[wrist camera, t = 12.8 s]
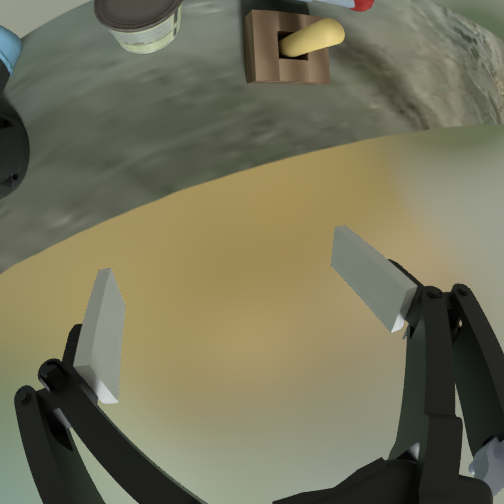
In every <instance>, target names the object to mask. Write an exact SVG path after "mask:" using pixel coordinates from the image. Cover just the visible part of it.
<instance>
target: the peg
mask: <svg viewBox="0 0 504 504" xmlns="http://www.w3.org/2000/svg"><path fill="white" fill-rule="evenodd" d="M344 36H345V33H344V29H343V27H342V26H341V25H340V24H339V23H338V22H337V21H336V20H334V19H331V18H325V19H322V20H320V21H318V22H316V23H313V24H311V25H309V26H307V27H305V28H303V29H301V30H299V31H297V32H295V33H293V34H291V35H289V36H287V37H285V38H283V39H281V40H280V41H278V53H279V59H290V58H293V57H296V56H299V55H302V54H305V53H308V52H311V51H315V50H318V49H321V48H325V47H329V46H332V45H336V44H339V43H341V42H342V41H343V40H344Z"/></svg>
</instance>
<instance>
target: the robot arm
mask: <svg viewBox="0 0 504 504" xmlns="http://www.w3.org/2000/svg"><path fill="white" fill-rule="evenodd" d="M21 51H22V41H21V39H20V38H19V37H18V36H17V35H16V34H14V33H13V32H11V31H10V30H8V29H6V28H5V27H3V26H1V25H0V98H1V96H2V93H3V91H4V88H5V86H6V84H7V81H8V79H9V77H11V76H12V74H13V69H14V66H15V64H16V62H17V60H18V58H19V56H20V54H21ZM28 163H29V141H28V137H27V134H26V131H25V129H24V127H23V125H22V124H21V122H20V121H19V120H18V119H17V118H15V117H14V116H12V115H9V114H0V199H2V198H4V197H6V196H7V195H9V194H10V193H12V192H13V191H14V190H15V189H16V188H17V187H18V186H19V185H20V184H21V182H22V180H23V178H24V176H25V174H26V171H27V167H28ZM331 266H332V267H333V268H334V269H335V270H336V271H337V272H338V273H339V274H340V276H341V277H342V278H343V279H344V280H345V281H346V282H347V283H348V284H349V286H350V287H352V289H353V290H354V291H355V292H356V293H357V294H358V296H359V297H360V298H361V299H362V300H363V301H364V302H365V303H366V305H367V306H368V307H369V308H370V309H371V310H372V312H373V313H374V314H375V315H376V316H377V317H378V318H379V320H380V321H381V322H382V323H383V324H384V325H385V326H386V328H387V329H388V330H389V331H390V332H391V333H392V332H394V331H396V330H398V329H401V328H402V326H403V324H404V321H405V320H406V321H407V322H408V323H409V325H408V327H407V329H406V332H405V334H404V336H403V339H405V337H406V336H407V349H406V367H405V379H404V390H403V398H402V407H401V414H400V420H399V426H398V432H397V437H396V441H395V444H394V446H393V448H392V450H391V452H390V454H389V457H388V460H384V459H383V458H382V457H381V458H379V459H377V460H375V461H374V462H372V463H370V464H368V465H366V466H364V467H362V468H360V469H358V470H357V471H356V472H354V473H353V474H352V475H350V476H349V477H348V478H347V479H345V480H344V481H342V482H341V483H340V484H338V485H337V486H336V487H334V488H330V489H324V490H317V491H310V492H303V493H299V494H296V495H293V496H290V497H287V498H283V499H280V500H277V501H273V502H272V504H493V497H494V496H495V495H496V494H497V493H498V492H499V491H500V490H501V489H502V488H503V487H504V354H503V351H502V349H501V347H500V344H499V342H498V340H497V338H496V336H495V334H494V332H493V330H492V328H491V326H490V324H489V322H488V320H487V318H486V316H485V314H484V312H483V310H482V309H481V307H480V305H479V303H478V301H477V300H476V298H475V296H474V294H473V293H472V291H471V290H470V288H468V287H467V286H466V285H464V284H459V283H458V284H455V285H453V288H452V290H451V292H444V293H443V292H442V291H441V290H440V289H438V288H436V287H434V286H423V285H422V284H421V283H420V282H419V281H418V280H417V279H416V278H415V277H413V276H412V275H411V274H410V273H408V271H406V270H405V269H403V267H402V266H400V265H399V264H398V263H397V262H394V261H393V260H390V259H386V258H385V257H384V256H383V255H381V254H380V253H379V252H378V251H377V250H375V249H374V248H373V247H372V246H370V245H369V244H368V243H367V242H366V241H364V240H363V239H362V238H361V237H359V236H358V235H357V234H356V233H354V232H353V231H352V230H351V229H349V228H348V227H347V226H345V225H344V226H338V227H335V231H334V241H333V251H332V260H331ZM125 308H126V306H125V304H124V301H123V299H122V296H121V294H120V291H119V288H118V286H117V283H116V280H115V278H114V275H113V272H112V269H111V268H107V269H102V270H99V271H98V274H97V277H96V280H95V283H94V286H93V289H92V293H91V296H90V299H89V303H88V306H87V310H86V313H85V317H84V321H83V324H76V325H74V327H73V328H72V329H71V331H70V332H69V336H68V339H67V343H66V347H65V348H66V349H65V351H64V355H63V359H62V362H61V361H60V360H59V359H55V358H54V359H49V360H47V361H45V362H44V363H43V364H42V365H41V367H40V369H39V371H38V379H39V381H40V382H41V383H42V384H43V385H44V386H45V388H43V389H41V390H38V391H35V390H34V389H33V388H32V387H31V386H28V385H26V386H23V387H21V388H20V389H19V390H18V391H17V392H16V395H15V397H14V404H15V410H16V415H17V420H18V425H19V430H20V434H21V439H22V443H23V447H24V450H25V454H26V457H27V461H28V463H29V467H30V470H31V473H32V476H33V479H34V482H35V484H36V487H37V489H38V492H39V495H40V497H41V499H42V502H43V504H105V502H104V501H103V499H102V497H101V495H100V494H99V492H98V490H97V489H96V486H95V485H94V483H93V481H92V479H91V477H90V475H89V473H88V471H87V469H86V467H85V465H84V463H83V461H82V458H81V456H80V454H79V452H78V450H77V447H76V445H75V442H74V440H73V438H72V435H71V432H70V430H69V428H71V427H72V428H73V429H74V430H75V432H76V433H77V435H78V436H79V437H80V439H81V440H82V441H83V443H84V444H85V445H86V447H87V448H88V449H89V451H90V452H91V453H92V454H93V455H94V457H95V458H96V459H97V460H98V461H99V463H100V464H101V465H102V466H103V467H104V468H105V469H106V470H107V472H108V473H109V474H110V475H111V476H112V477H113V478H114V479H115V481H116V482H117V483H118V484H119V485H120V486H121V487H122V488H123V489H124V490H125V491H126V492H127V493H128V494H129V495H130V496H131V497H132V498H133V499H135V500H136V501H137V502H138V503H139V504H208V503H206V502H205V501H203V500H202V499H200V498H199V497H198V496H196V495H195V494H193V493H192V492H190V491H189V490H188V489H186V488H185V487H184V486H182V485H181V484H180V483H178V482H177V481H175V479H173V478H172V477H171V476H169V475H168V474H167V473H166V472H165V471H163V470H162V469H161V468H160V467H159V466H157V465H156V464H155V463H154V462H153V461H152V460H150V459H149V458H148V457H147V456H146V455H145V454H144V453H143V452H142V451H141V450H140V449H138V447H136V446H135V445H134V444H133V443H132V442H131V441H130V440H129V439H128V438H127V437H126V436H125V435H124V434H123V433H122V432H121V431H120V430H119V429H118V427H117V426H116V425H115V424H114V423H113V422H112V421H111V420H110V419H109V418H108V416H107V415H106V414H105V413H104V412H103V411H102V410H101V409H100V407H99V406H98V405H97V401H98V398H99V399H100V400H101V401H102V402H103V404H106V403H119V374H120V358H121V345H122V334H123V324H124V316H125ZM460 320H461V321H462V326H461V327H460V325H459V322H460ZM455 384H456V388H457V391H458V396H459V400H460V403H461V408H462V412H463V417H464V422H465V428H466V433H467V438H468V443H469V447H470V450H471V453H472V456H473V458H474V459H473V462H471V464H470V465H469V472H470V473H471V474H474V478H472V477H467V476H462V475H459V468H460V459H461V448H462V432H463V423H462V419H461V418H460V417H456V415H455Z"/></svg>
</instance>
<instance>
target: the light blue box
mask: <svg viewBox="0 0 504 504" xmlns="http://www.w3.org/2000/svg"><path fill="white" fill-rule="evenodd" d="M299 1H305V2H311V1H312V0H299ZM318 1H323V2H327V3H332V4H336V5H340V6H344V7H348V8H353V7H355V4H354V0H318Z"/></svg>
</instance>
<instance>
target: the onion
mask: <svg viewBox="0 0 504 504" xmlns="http://www.w3.org/2000/svg"><path fill="white" fill-rule="evenodd" d="M373 3H374V0H354V4H355V7H353V8H349V9H351V10H354V11H361V12H362V11H366V10H368V9H370V8H371V7H372V5H373Z"/></svg>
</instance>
